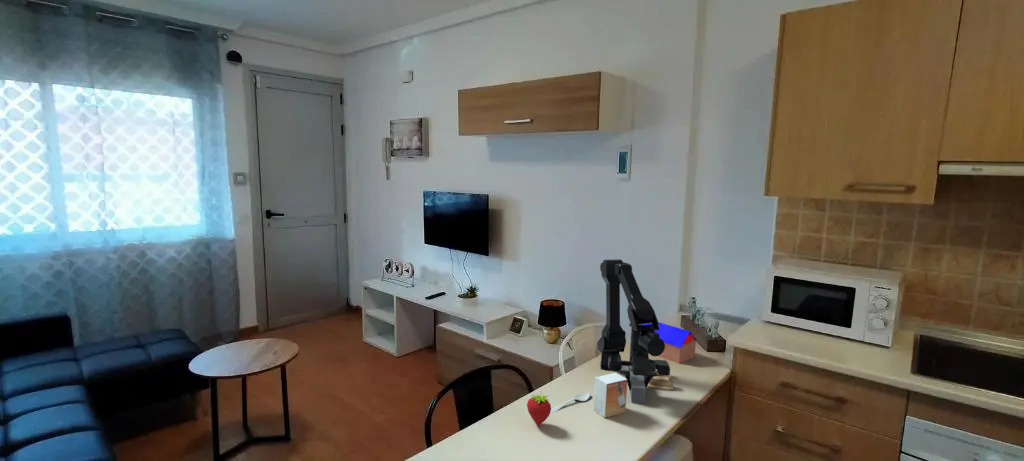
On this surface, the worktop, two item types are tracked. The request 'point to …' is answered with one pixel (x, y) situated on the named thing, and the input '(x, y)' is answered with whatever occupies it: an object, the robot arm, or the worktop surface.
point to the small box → (610, 394)
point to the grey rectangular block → (637, 388)
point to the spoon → (583, 395)
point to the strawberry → (539, 408)
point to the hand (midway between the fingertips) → (636, 390)
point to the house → (676, 343)
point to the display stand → (661, 382)
